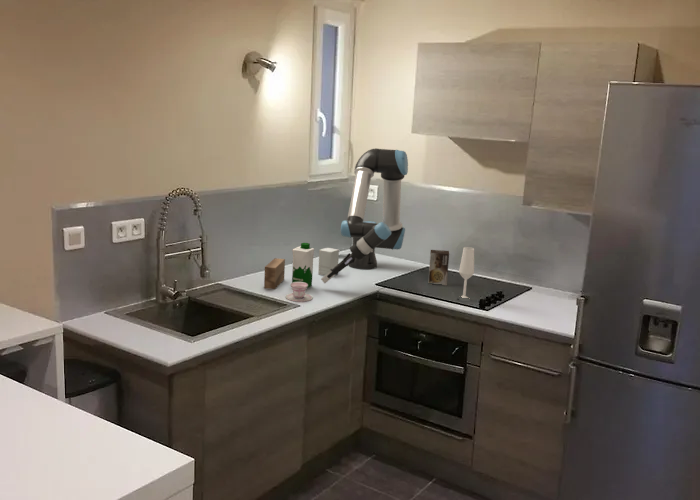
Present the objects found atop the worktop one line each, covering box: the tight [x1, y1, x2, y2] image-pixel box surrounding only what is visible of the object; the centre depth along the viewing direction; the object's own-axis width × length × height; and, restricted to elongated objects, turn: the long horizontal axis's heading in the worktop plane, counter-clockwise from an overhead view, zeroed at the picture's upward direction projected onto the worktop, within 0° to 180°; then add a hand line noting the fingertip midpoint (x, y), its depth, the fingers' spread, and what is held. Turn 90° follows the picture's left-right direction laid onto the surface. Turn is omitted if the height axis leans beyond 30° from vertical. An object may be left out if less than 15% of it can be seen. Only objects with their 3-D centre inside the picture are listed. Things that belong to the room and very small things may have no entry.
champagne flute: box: [458, 246, 475, 298], centre depth 316 cm, size 7×7×24 cm
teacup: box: [285, 282, 314, 303], centre depth 307 cm, size 12×12×6 cm
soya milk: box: [291, 242, 315, 290], centre depth 322 cm, size 9×9×20 cm
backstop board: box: [263, 257, 286, 290], centre depth 325 cm, size 5×17×10 cm, turn 171°
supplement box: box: [318, 247, 340, 277], centre depth 347 cm, size 7×7×13 cm
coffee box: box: [427, 249, 450, 286], centre depth 341 cm, size 9×6×16 cm
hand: (323, 281), depth 322 cm, fingers closed
